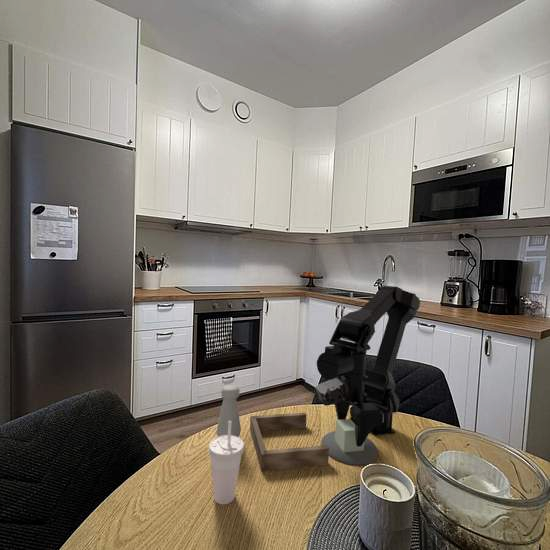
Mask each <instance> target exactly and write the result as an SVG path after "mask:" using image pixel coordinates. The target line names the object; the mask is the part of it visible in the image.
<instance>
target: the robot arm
mask: <svg viewBox="0 0 550 550" xmlns="http://www.w3.org/2000/svg"><path fill="white" fill-rule="evenodd" d="M420 304H421V300H420V298H419V297H418V296H417V295H416V293H413V292H409V291H407V290H404V289H402V288H400V287H398V286H393V285H383V286H380V288H379V290H378V292H377V293H375V294H374V295H373V297H371V298H370V299H369V301H367V302H366V303H365V304H364V305H363V306H362V308H360V309H358V310H355V311H350V312H348V313H347V314H345V315H344V316H342V317H341V318H340V319H339V321H338V323H337V325H336V327H335V330H334V331H333V334H332V336H331V337H330V340H329V345H327V346H325V347H324V352H321V353H320V354H319V355H318V358H317V359H316V369H317V371H318V373H319V374H320V376H321V377H322V378H324V379H326V381H324V382H320V383H319V384H317V385H316V386H315V391H316V393H317V396H318V399H319V401H320V402H321V403H322V405H323V406H326V407H328V406H330V405H334V408H335V409H334V410H335V412H336V418H337V420H344V419H347V416H348V413H349V419H350V420H351V421H352V422H353V423H354V424H355V437H356V445H357V447H359V446H362V444H363V443H364V441H365V440H366V438H368V436H369V435H370V433H371V434H372V436H379V435H393V434H396V430H395V429H394V428H393V413H395V414H396V413H398V410H399V407H400V402H401V401H400V399H399V397H398V396H397V394H396V392H395V391H396V390H395V389H396V383H395V379H394V377H393V372H394V367H395V364H396V361H397V357H398V355H399V351H400V347H401V343H402V340H403V336H404V332H405V330H406V325H407V324H409V323H410V322H411V321H412V320H414V318H415V317H416V314H417V312H418V310H420V307H421V305H420ZM385 314H387V317H388V318H387V319H388V320H387V323H386V325H385V328H384V332H383V335H382V339H381V342H380V345H379V348H378V352H377V355H376V359H375V362H374V365H373V366H372V367H371V368H370V369H369V368H366V367H367V366H366V365H367V351H370V350H371V346H370V345H369V342H370V341H371V339H372V338H373V336H374V335H375V333H376V327H375V325H376V324H377V322H379V320H380V319H381V318H382V317H383V316H384V315H385ZM350 406H351V407H350Z"/></svg>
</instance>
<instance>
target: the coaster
mask: <svg viewBox="0 0 550 550" xmlns="http://www.w3.org/2000/svg"><path fill="white" fill-rule="evenodd" d="M323 445H327V446H328V448H329V458H332V460H333V459H334V460H336V461H338V462H340V463H344V464H346V465H352V466H353V465H354V466H363V465H368V464H371V463H372V462H374V461H375V460H376V459H377V457H378V452H379V450H378V448H377V446H376V444H375V443H374V441H372V440H371V439H369V438H368V437H367V438H366V440H365V441H364V450H363V451H353V452H343V451H342V449H341V448H340V447H339V445H338V444H337V442H336V441H335V430H334V431H331V432H327V433H326V434H324V435H323V436H322V438H321V445H320V446H323Z"/></svg>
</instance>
